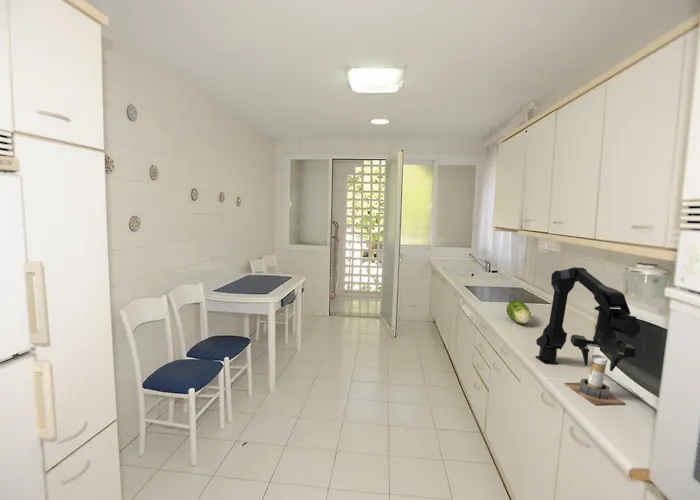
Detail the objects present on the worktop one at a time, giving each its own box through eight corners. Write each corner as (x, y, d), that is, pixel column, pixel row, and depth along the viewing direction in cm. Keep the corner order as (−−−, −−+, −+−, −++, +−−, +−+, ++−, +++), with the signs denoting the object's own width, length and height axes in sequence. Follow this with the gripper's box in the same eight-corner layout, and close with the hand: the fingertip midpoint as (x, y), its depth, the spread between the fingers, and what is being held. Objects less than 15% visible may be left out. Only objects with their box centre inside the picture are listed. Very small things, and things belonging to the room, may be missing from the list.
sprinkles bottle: (587, 387, 136) (593, 353, 134) (602, 392, 133) (608, 357, 131) (584, 391, 133) (591, 356, 131) (599, 397, 130) (606, 361, 128)
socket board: (564, 384, 139) (564, 382, 139) (592, 383, 141) (592, 382, 141) (594, 405, 125) (595, 403, 125) (624, 404, 127) (625, 402, 127)
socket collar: (574, 386, 137) (575, 378, 136) (594, 386, 138) (595, 378, 138) (593, 399, 128) (594, 391, 128) (614, 398, 130) (615, 390, 129)
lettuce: (512, 327, 202) (515, 307, 200) (503, 315, 222) (505, 297, 221) (534, 329, 200) (538, 309, 199) (523, 318, 220) (526, 299, 219)
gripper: (581, 328, 125) (573, 371, 127) (647, 339, 119) (638, 384, 121) (573, 318, 136) (566, 359, 138) (634, 328, 129) (626, 370, 132)
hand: (598, 368), depth 132 cm, fingers open, 7 cm apart
